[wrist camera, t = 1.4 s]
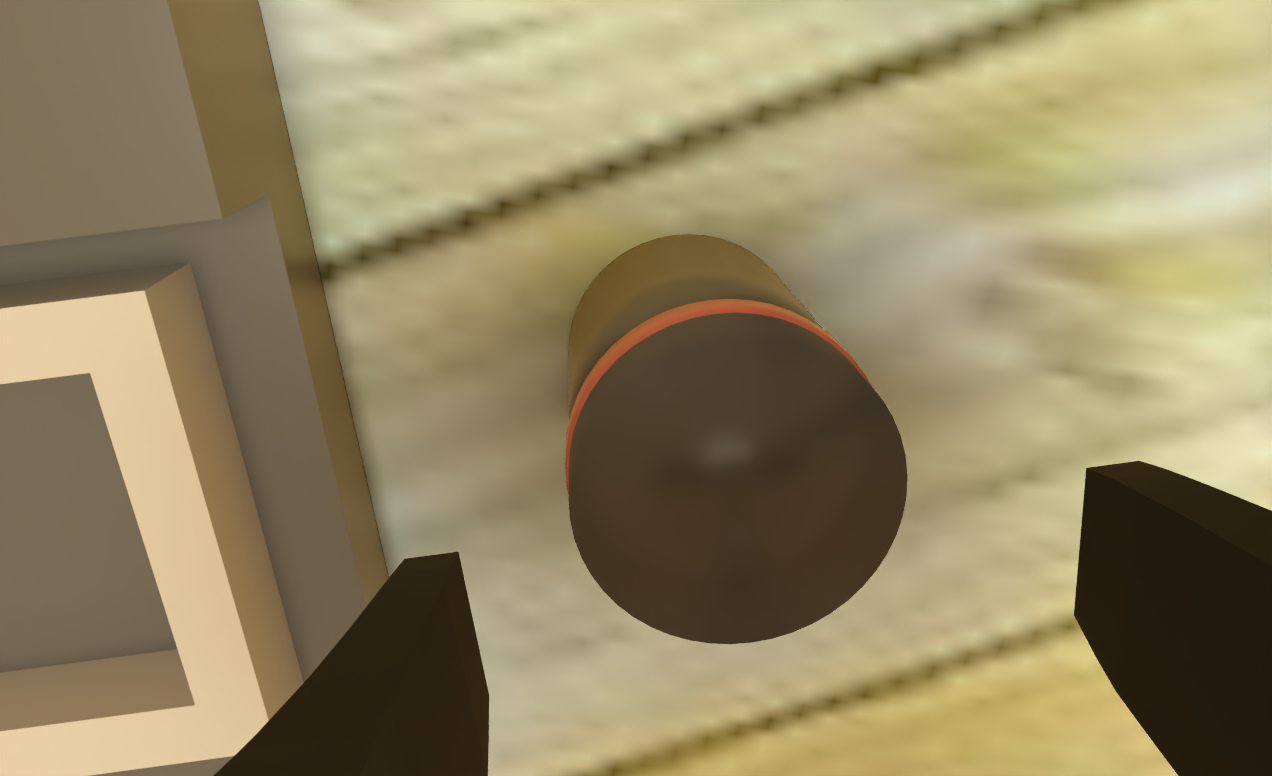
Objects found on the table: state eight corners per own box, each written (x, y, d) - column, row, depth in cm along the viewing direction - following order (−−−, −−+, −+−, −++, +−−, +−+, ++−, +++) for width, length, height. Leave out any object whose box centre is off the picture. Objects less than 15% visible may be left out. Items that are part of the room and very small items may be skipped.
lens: (809, 443, 22) (914, 623, 15) (582, 472, 22) (589, 667, 15) (795, 217, 20) (907, 309, 13) (551, 248, 20) (541, 355, 13)
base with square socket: (435, 784, 24) (407, 942, 20) (-71, 853, 24) (-207, 1027, 20) (252, -26, 18) (156, -43, 14) (-433, 55, 18) (-741, 64, 13)
